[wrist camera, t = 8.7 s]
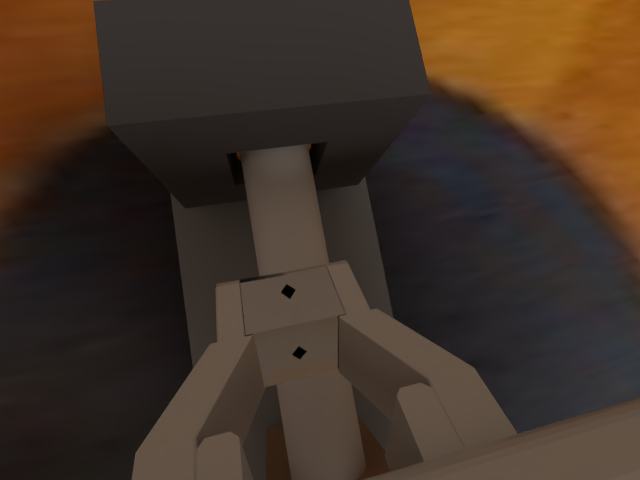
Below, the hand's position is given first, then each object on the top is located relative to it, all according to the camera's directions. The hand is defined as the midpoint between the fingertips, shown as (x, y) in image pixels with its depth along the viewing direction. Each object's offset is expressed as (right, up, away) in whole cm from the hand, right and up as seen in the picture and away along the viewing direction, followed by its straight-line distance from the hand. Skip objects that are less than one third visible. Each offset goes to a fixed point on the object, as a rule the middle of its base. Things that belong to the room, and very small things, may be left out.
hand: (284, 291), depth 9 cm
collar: (-2, +6, +13) cm, 14 cm away
